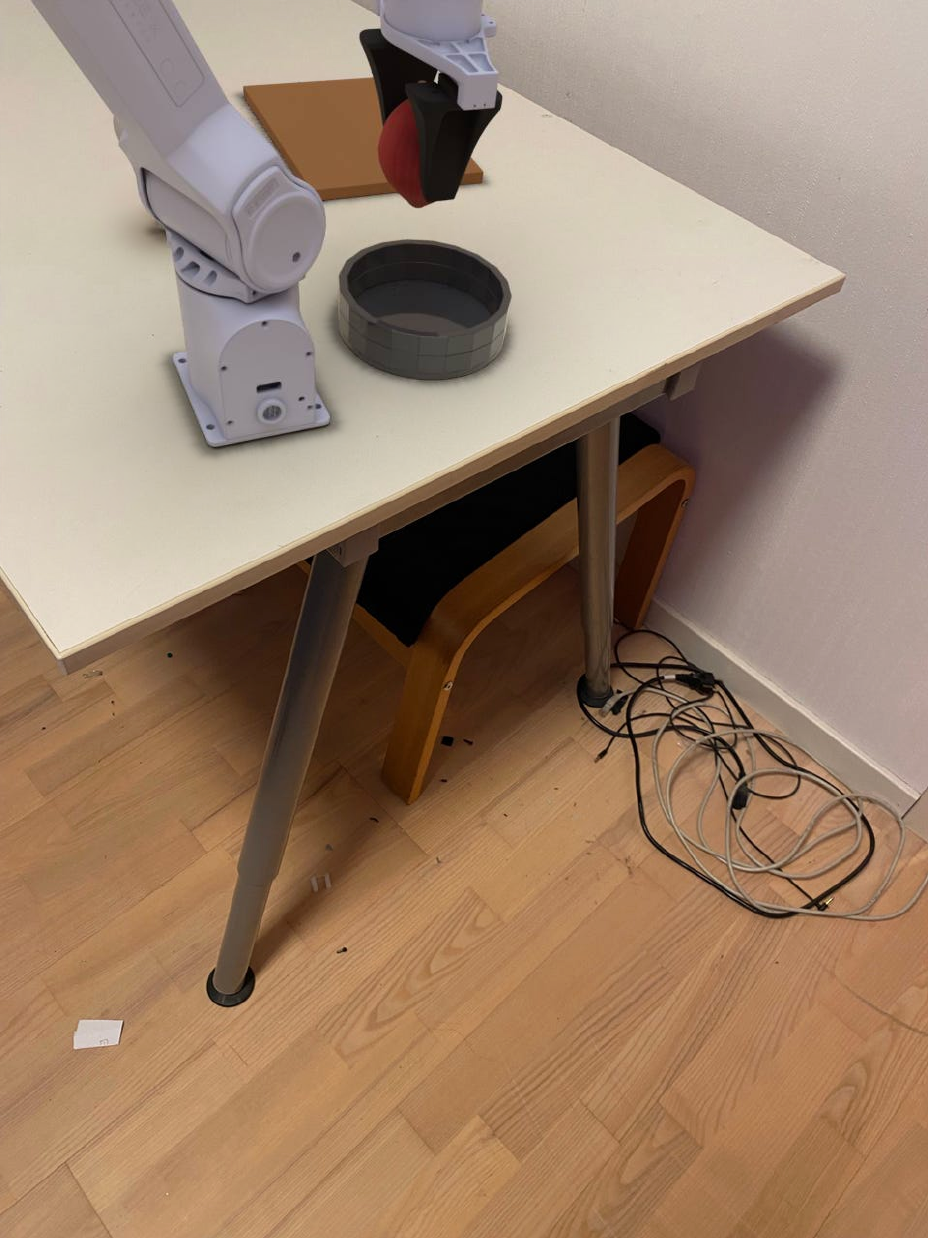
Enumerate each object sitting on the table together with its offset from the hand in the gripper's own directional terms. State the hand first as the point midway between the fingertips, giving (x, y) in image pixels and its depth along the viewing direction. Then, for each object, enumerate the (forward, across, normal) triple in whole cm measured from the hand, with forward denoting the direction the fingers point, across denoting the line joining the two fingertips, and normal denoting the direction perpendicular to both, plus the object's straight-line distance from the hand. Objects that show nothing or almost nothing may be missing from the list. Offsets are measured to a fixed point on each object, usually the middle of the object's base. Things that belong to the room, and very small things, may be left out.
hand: (420, 174), depth 62 cm
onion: (+2, 0, 0) cm, 2 cm away
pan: (+10, -3, 0) cm, 10 cm away
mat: (+10, +26, -6) cm, 28 cm away
